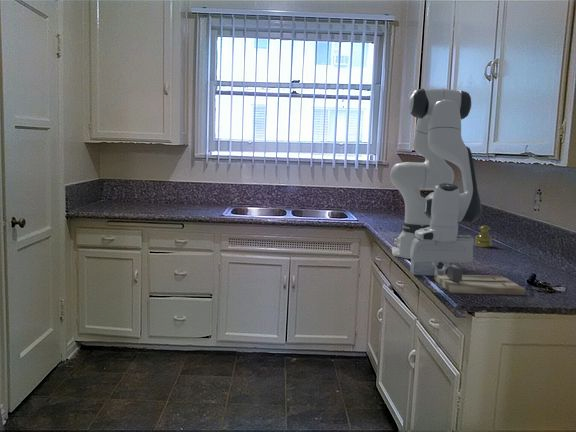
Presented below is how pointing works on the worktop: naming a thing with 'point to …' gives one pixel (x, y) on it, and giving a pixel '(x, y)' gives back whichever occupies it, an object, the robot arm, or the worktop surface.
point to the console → (480, 285)
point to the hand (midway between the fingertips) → (439, 275)
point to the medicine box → (422, 268)
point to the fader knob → (454, 273)
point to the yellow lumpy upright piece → (483, 237)
